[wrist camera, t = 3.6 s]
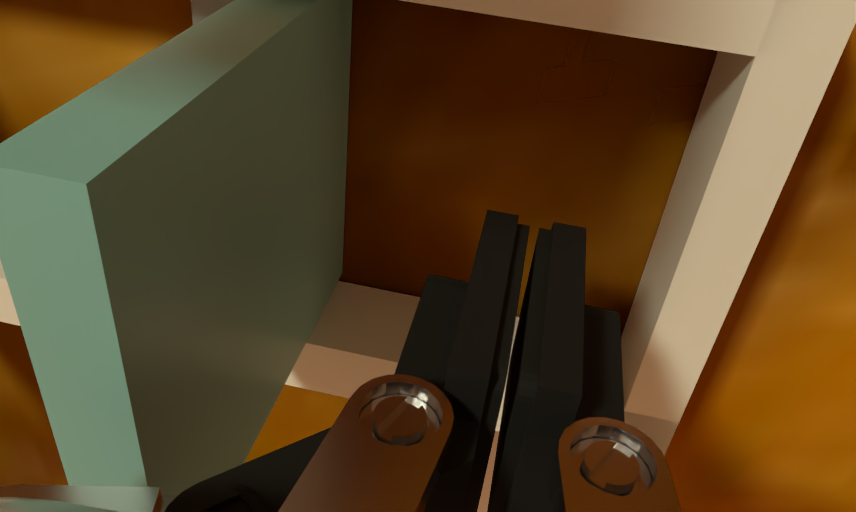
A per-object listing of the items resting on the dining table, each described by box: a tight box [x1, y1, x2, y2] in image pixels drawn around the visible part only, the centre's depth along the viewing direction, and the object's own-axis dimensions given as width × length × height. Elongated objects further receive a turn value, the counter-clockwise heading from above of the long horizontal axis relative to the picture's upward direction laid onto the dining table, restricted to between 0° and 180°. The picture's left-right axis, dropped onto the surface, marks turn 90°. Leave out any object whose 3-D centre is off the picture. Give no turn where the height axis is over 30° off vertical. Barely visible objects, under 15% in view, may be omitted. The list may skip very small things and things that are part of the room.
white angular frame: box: [0, 0, 856, 456], centre depth 13 cm, size 22×11×9 cm, turn 84°
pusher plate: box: [0, 0, 353, 496], centre depth 13 cm, size 3×7×9 cm, turn 174°
